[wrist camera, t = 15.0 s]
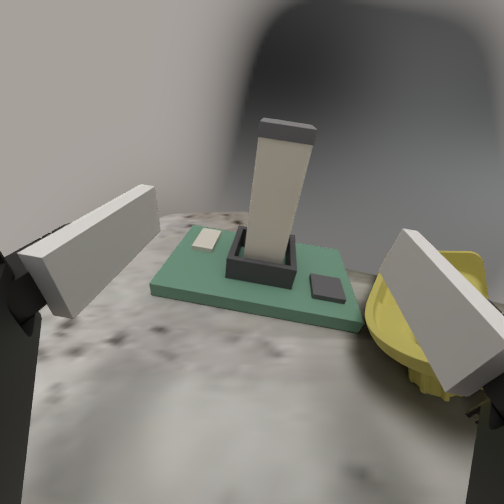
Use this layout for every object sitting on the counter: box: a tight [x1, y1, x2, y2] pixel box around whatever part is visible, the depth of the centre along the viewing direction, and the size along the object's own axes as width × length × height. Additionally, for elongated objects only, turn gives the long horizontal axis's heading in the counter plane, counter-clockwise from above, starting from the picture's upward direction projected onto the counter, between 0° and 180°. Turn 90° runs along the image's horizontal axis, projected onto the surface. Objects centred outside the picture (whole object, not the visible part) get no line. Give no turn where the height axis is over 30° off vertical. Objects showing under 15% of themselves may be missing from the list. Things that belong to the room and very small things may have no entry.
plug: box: [243, 118, 317, 264], centre depth 21 cm, size 4×4×14 cm
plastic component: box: [365, 251, 489, 401], centre depth 21 cm, size 20×7×10 cm
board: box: [149, 225, 364, 333], centre depth 25 cm, size 20×12×4 cm, turn 83°
